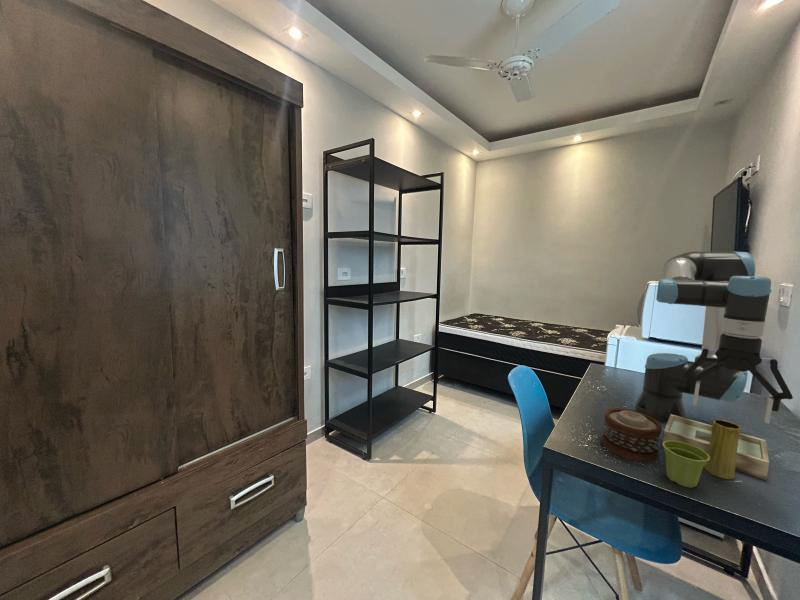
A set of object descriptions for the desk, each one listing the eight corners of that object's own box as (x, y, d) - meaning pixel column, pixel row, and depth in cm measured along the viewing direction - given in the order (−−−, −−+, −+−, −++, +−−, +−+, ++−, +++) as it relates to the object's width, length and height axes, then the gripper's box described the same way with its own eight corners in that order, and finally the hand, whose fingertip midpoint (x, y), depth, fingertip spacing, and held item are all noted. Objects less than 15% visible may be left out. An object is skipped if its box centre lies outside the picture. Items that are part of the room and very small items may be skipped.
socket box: (662, 445, 103) (664, 430, 102) (669, 427, 114) (670, 414, 113) (766, 480, 87) (769, 462, 87) (762, 455, 98) (765, 440, 98)
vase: (712, 463, 94) (719, 417, 92) (740, 477, 88) (748, 427, 86) (698, 467, 92) (705, 420, 90) (725, 481, 86) (734, 431, 84)
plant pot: (652, 465, 92) (656, 437, 91) (692, 472, 90) (697, 443, 89) (668, 488, 84) (673, 456, 82) (713, 496, 81) (719, 464, 80)
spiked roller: (664, 413, 101) (663, 433, 90) (660, 446, 102) (658, 469, 91) (608, 399, 110) (601, 415, 99) (605, 429, 112) (597, 448, 100)
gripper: (677, 329, 91) (667, 401, 94) (820, 347, 74) (804, 435, 76) (680, 325, 96) (670, 394, 99) (814, 342, 79) (799, 424, 81)
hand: (728, 412), depth 88 cm, fingers open, 13 cm apart
